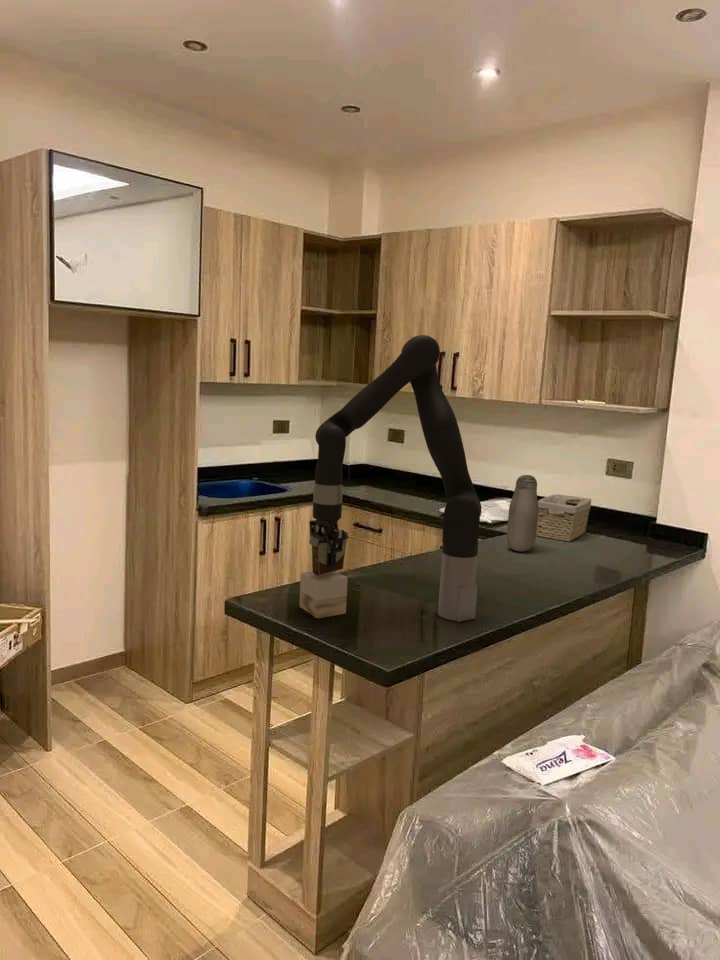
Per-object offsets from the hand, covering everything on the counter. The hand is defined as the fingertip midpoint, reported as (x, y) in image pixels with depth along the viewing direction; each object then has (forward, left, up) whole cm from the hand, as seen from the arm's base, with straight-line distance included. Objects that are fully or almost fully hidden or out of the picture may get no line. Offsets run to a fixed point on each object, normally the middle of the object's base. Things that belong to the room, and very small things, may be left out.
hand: (325, 563), depth 193 cm
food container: (+1, 0, -2) cm, 2 cm away
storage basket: (+33, -133, -13) cm, 138 cm away
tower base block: (0, 0, -13) cm, 13 cm away
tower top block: (0, 0, -8) cm, 8 cm away
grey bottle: (+22, -98, -13) cm, 101 cm away
